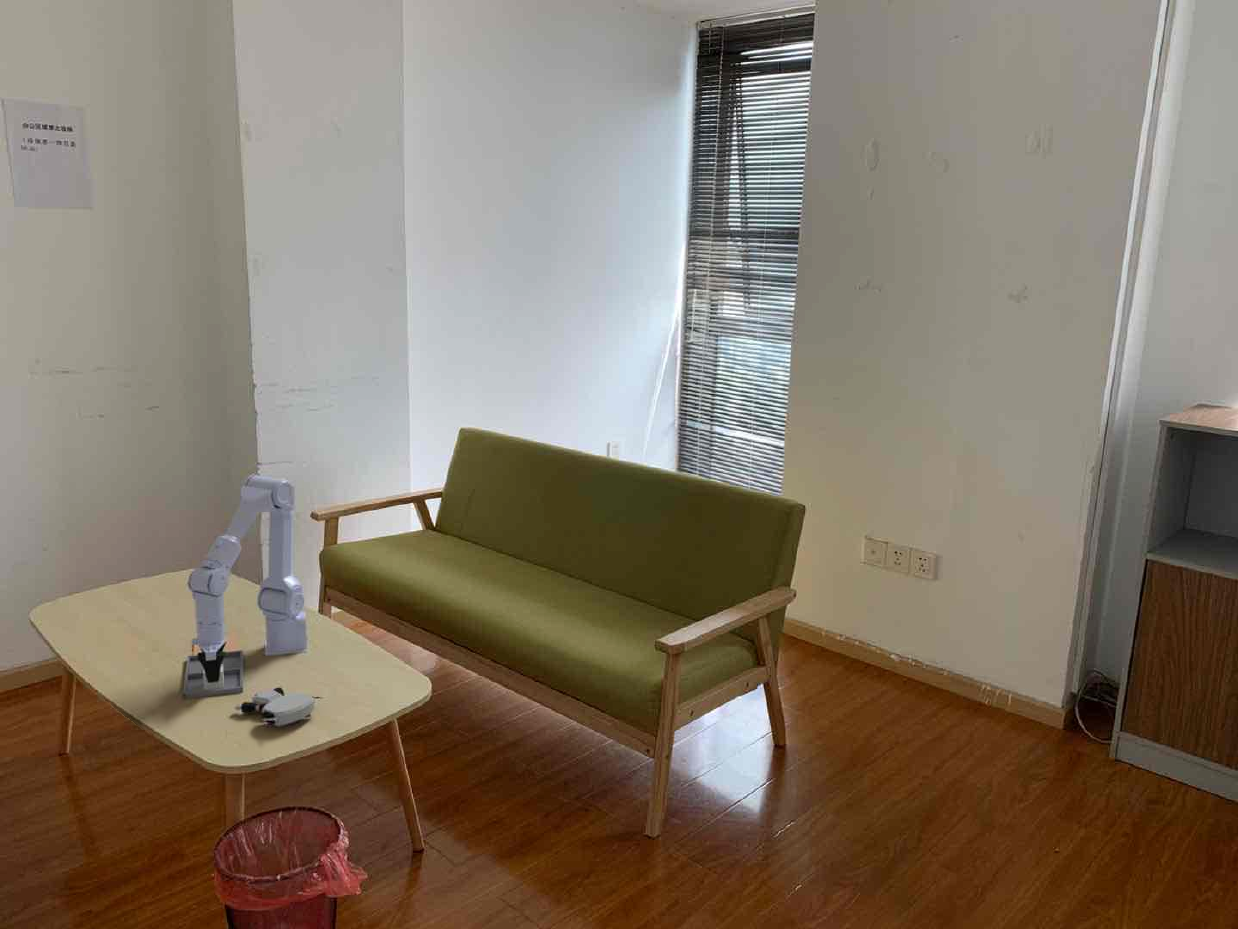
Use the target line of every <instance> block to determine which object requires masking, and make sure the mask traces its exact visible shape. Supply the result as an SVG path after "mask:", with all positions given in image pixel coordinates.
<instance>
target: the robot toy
mask: <svg viewBox="0 0 1238 929" xmlns="http://www.w3.org/2000/svg"><path fill="white" fill-rule="evenodd" d="M323 698H324V696H322V695H320V696H313V695H311V694H308V693H305V692H302V691H298V692H291V693H287V694H285V691H284V690H283V688H282V687H276V688H275V687H274V688H272V689H266V690H262V691H259V692H258V693H256V694H253V695H251V699H252V701H251V702H250V701H249V702H248V701H244V702H242V703H239V704H237V705H236V706H234V709H235V710H236V711H241V712H242V713H252V712H254V711H256V712H258V713H261V719H262V720H263V722H264V723H267V724H270V725H273V726H274V727H275V726H276V727H284V726H286V725H290V724H292V723H294V722H297V721H300V720H302V719H304V718H305V717H306V716H308V715H310V714H311V713H312V712H313V711H314V709H315V708H316V701H315V699H323Z"/></svg>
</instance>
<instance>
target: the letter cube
mask: <svg viewBox="0 0 1238 929" xmlns="http://www.w3.org/2000/svg"><path fill="white" fill-rule="evenodd" d="M203 683H204V690H212V689H221V688H224V673H223V664H221V668H220V676H219V680H218V682H211V683H208V681H207V678H206V674H205V671H204V668H203Z"/></svg>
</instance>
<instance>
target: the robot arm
mask: <svg viewBox="0 0 1238 929" xmlns="http://www.w3.org/2000/svg"><path fill="white" fill-rule="evenodd" d="M240 496H241V500H240V503H239V505H238V507H237V509H236V511H235V513H234V515H233V517H232V520H231V522H230V524H229V526H228V528H227V530H226V532H225V534H224V535H220V536H218V537H217V538H216V540H215V541H214V543H213V544H212V546H211V548H210V549H209V551H208V553H207V555H206V556H205V558H204V560H203V561H202V563H201V565H199V566H198V567H196V568H194V569H193V570H192V571H191V572H190V574H189V576H188V580H187V582H186V584H187V588H188V589H189V591H190V592H191V594H192V595H191V597H192V599H193V600H194V601H195V602H194V605H195V606H194V607H195V623H196V624H195V625H196V637H195V638H191V642H190V643H191V645H193V646H194V645H198V646H199V648H200V649H201V651H202V652H200V653H198V655H197V658H198V660H199V661H200V663H201V664H202V666H203V668H204V671H205V674H206V678H207V681H208V683H211V682H218V680H219V676H220V668H221V664H222V661H223V659H224V657H225V654H226V652H222V651H223V649H224V646H225V644H226V640H227V638H226V636H227V635H226V624H225V623H226V622H225V621H226V620H225V604H224V602H225V601H224V600H225V599H224V592H225V591H226V590H227V589H228V587H229V584H230V576H231V573H232V571H231V569H232V567H233V565H234V563H235V562H236V560H237V559H238V557H239V555H240V553H241V552H242V549H243V548H242V544H241V541H242V539H243V538H244V536H245V535H246V533H247V531H248V530H249V528H250V527H251V526H252V525H253V523H254V521H255V520H256V518H257V517H258V515H259V514H262V513H269V527H268V528H269V530H268V533H269V534H268V576H267V577H266V578H265V579H263V580H262V581H260V583H259V590H258V591H259V592H258V594H257V597H256V604H257V606H258V608H259V610H261V611H262V615H264V616H265V636H266V638H265V639H266V641H264V654H265V656H268V657H269V656H277V655H285V654H296V653H304V652H305V653H307V651H308V648H307V647H308V646H307V642H308V633H307V621H306V620H307V619H306V612H305V611H302V610H303V608H304V605H305V597H304V593H303V587H302V586H303V585H302V583H300V581H299V580H297V578H296V577H295V576H294V575H293V560H294V559H293V558H294V557H293V556H294V554H293V553H294V551H293V550H294V514H295V513H294V512H295V510H294V509H295V486H294V484H293V483H292V482H290V481H289V480H288V479H285V478H276V477H270V476H263V475H258V474H251V475H249V476H247V477H246V479H245V481H244V482H243V486H241V489H240Z"/></svg>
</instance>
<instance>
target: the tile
mask: <svg viewBox="0 0 1238 929" xmlns="http://www.w3.org/2000/svg"><path fill="white" fill-rule="evenodd" d="M239 635H240V634H238V633H237V634H231V635H230V634H229V635H226V638H227V640H226V644H225V646H224V649H223V651H222V652H231V651H239V647H240V646H239V642H240V640H239V638H240V637H239ZM200 652H202V651H201V649H200V648H199V646H198V645H193V652H192V655H198V653H200Z"/></svg>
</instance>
